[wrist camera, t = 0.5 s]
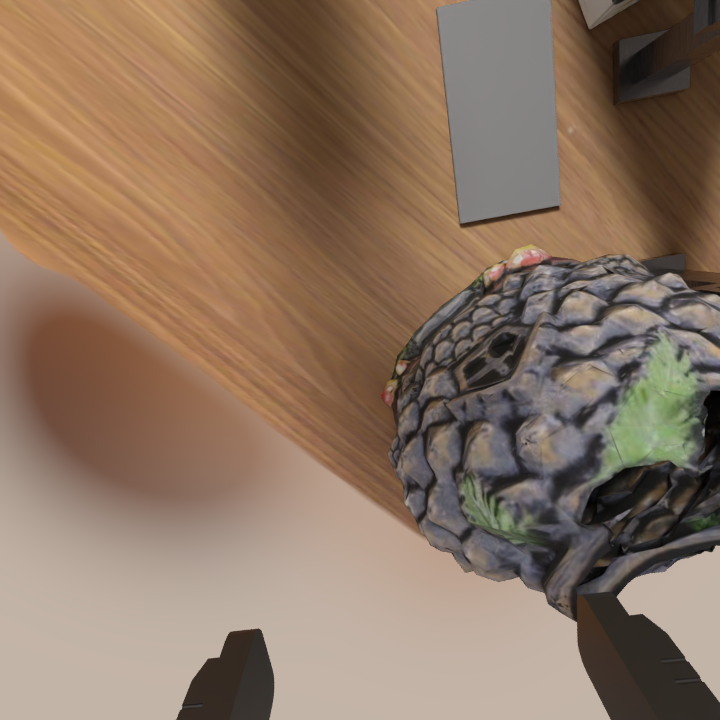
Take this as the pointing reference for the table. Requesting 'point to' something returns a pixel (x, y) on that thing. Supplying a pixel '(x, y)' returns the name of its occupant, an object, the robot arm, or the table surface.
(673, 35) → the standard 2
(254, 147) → the table surface
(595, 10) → the tea box
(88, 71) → the table surface
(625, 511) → the scaly pinecone sculpture
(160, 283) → the table surface
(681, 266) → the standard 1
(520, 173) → the pad
